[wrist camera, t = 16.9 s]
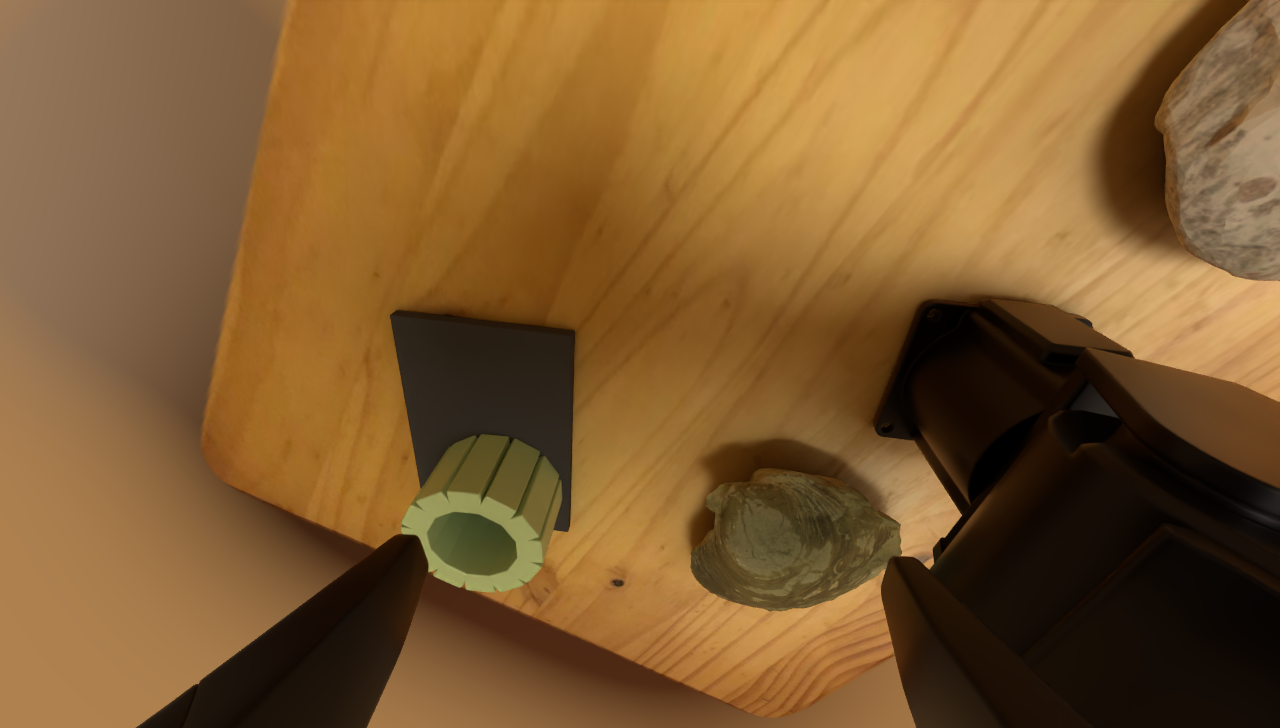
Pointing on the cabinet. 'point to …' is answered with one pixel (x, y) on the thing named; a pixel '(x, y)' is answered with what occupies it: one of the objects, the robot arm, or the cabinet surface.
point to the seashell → (791, 540)
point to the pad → (487, 388)
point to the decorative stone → (1228, 146)
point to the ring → (486, 513)
